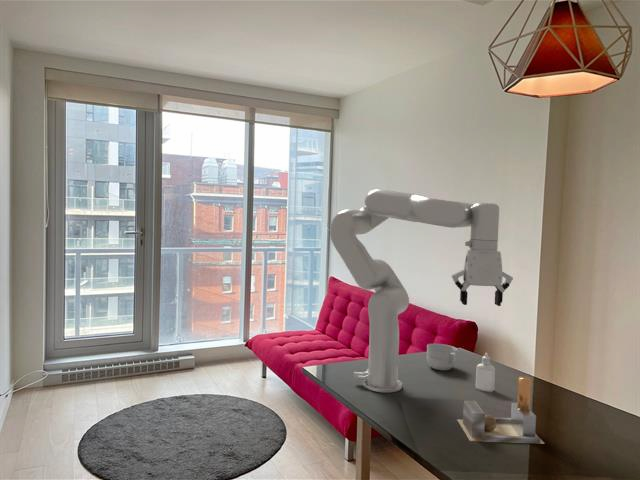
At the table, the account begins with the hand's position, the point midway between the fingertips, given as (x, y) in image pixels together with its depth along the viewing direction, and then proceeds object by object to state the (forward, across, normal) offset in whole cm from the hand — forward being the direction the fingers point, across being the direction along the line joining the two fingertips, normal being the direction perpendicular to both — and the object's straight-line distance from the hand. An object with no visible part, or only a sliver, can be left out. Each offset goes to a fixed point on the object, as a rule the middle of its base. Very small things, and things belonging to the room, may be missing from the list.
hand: (480, 304), depth 140 cm
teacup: (+31, -2, +33) cm, 45 cm away
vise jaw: (+29, +6, -19) cm, 35 cm away
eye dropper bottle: (+31, +7, +14) cm, 34 cm away
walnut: (+29, -2, -19) cm, 35 cm away
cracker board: (+30, 0, -19) cm, 36 cm away
